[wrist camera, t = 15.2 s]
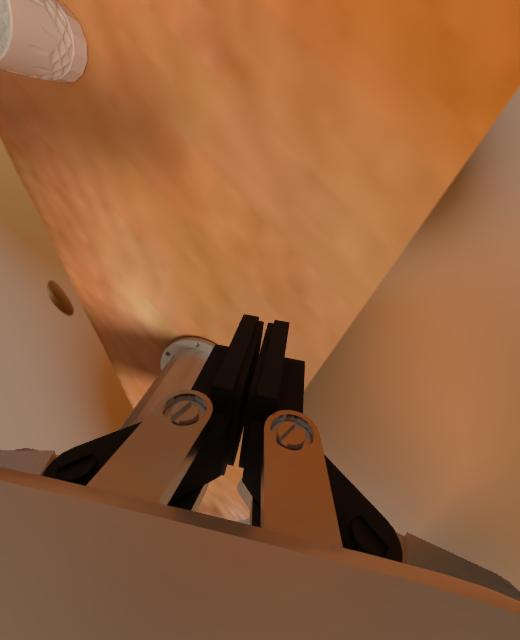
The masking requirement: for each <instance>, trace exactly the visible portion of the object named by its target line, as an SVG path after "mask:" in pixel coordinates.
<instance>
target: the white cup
mask: <svg viewBox="0 0 520 640" xmlns="http://www.w3.org/2000/svg"><path fill="white" fill-rule="evenodd" d="M87 60H88V57H87V42H86V39H85V36H84V34H83V31H82V28H81V26H80V23H79V22H78V21H77V19H76V18H75V17H74V16H73V14H72V13H71V12H70V11H69V9H68V8H67V7H65V6H64V5H62V4H61V3H60V2H58V1H57V0H0V70H1V71H6V72H10V73H14V74H18V75H22V76H27V77H33V78H37V79H42V80H50V81H54V82H58V83H73V82H75V81H76V80H77V79H78V78H79V77H80V76H82V75H83V73H84V70H85V67H86V64H87Z"/></svg>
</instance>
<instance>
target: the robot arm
mask: <svg viewBox="0 0 520 640" xmlns="http://www.w3.org/2000/svg"><path fill="white" fill-rule="evenodd" d="M263 325H264V322H262V321H259V317H256V316H251V315H245V314H244V315H243V317H242V320H241V322H240V324H239V326H238V328H237V331H236V333H235V335H234V337H233V339H232V342H231V344H230V346H229V347H227V346H222V345H217V344H216V345H215V344H214V343H212V342H210V341H207V340H205V339H201V338H195V337H187V338H181V339H178V340H176V341H174V342H172V343H171V344H170V345H169V346H168V347H167V348H166V349H165V350H164V352H163V354H162V356H161V360H160V369H161V373H160V374H159V375H158V377H157V378H156V379H155V381H154V382H153V384H152V385H151V386H150V388H149V389H148V390H147V392H146V393H145V395H144V396H143V397H142V399H141V400H140V401H139V403H138V404H137V406H136V407H135V408H134V410H133V411H132V413H131V414H130V415H129V417H128V418H127V419H126V421H125V422H124V424H123V425H122V426H121V428H120V429H119V430H118V431H116V432H113V433H110V434H108V435H105V436H103V437H100V438H97V439H95V440H92V441H89V442H87V443H84V444H82V445H79V446H77V447H74V448H72V449H70V450H68V451H66V452H64V453H62V454H61V455H56V454H55V451H38V450H35V449H28V448H23V449H16V450H0V640H520V591H518V589H516V588H515V587H514V586H513V585H512V584H511V583H510V582H509V581H507V580H506V579H504V578H502V577H501V576H499V575H498V574H496V573H494V572H492V571H489V570H487V569H485V568H483V567H481V566H479V565H477V564H474V563H472V562H470V561H468V560H466V559H464V558H461V557H459V556H457V555H455V554H453V553H451V552H449V551H446V550H444V549H442V548H440V547H438V546H436V545H434V544H431V543H429V542H427V541H425V540H423V539H421V538H418V537H416V536H414V535H412V534H409V533H406V535H405V536H403V535H401V534H399V533H397V532H395V530H394V529H393V527H392V526H391V525H390V524H389V522H388V521H387V520H386V519H385V518H384V517H383V515H382V514H381V513H380V512H379V511H378V510H377V509H376V508H375V507H374V506H373V505H372V504H371V503H370V502H369V501H368V500H367V499H366V498H365V497H364V496H363V495H362V494H361V493H360V492H359V490H358V489H357V488H356V487H355V486H354V485H353V484H352V483H351V482H350V481H349V480H348V479H347V478H346V477H345V476H344V475H343V474H342V473H341V472H340V471H339V470H338V469H337V468H336V466H335V465H333V463H332V462H331V461H330V460H329V459H328V458H327V457H326V456H325V455H324V452H323V447H322V443H321V438H320V433H319V431H318V428H317V426H316V425H315V423H314V422H313V421H312V420H311V419H310V418H308V417H307V416H306V415H304V414H303V394H304V372H305V362H304V361H300V360H295V359H290V358H285V357H284V356H285V349H286V342H287V336H288V329H289V322H284V321H278V320H275V321H274V324H273V323H268V325H267V329H266V332H265V336H264V340H263V343H262V347H261V350H260V346H261V339H262V332H263ZM259 353H260V354H259ZM243 428H244V431H243ZM242 432H243V438H242V445H241V453H240V460H239V467H241V468H244V471H243V478H242V481H243V483H244V484H245V486H246V487H247V489H248V490H249V492H250V494H251V495H252V498H251V508H250V525H248V524H243V523H239V522H235V521H231V520H227V519H223V518H218V517H214V516H210V515H206V514H202V513H198V512H196V511H197V509H198V507H199V505H200V503H201V501H202V499H203V497H204V495H205V493H206V490H207V487H208V483H209V482H210V481H212V480H214V479H216V478H217V477H219V476H220V475H224V474H225V470H226V467H227V464H228V465H232V466H233V465H234V462H235V458H236V454H237V451H238V447H239V443H240V439H241V435H242Z"/></svg>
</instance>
